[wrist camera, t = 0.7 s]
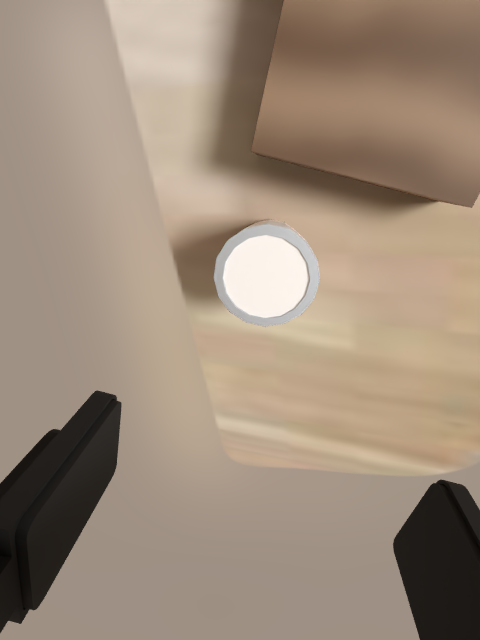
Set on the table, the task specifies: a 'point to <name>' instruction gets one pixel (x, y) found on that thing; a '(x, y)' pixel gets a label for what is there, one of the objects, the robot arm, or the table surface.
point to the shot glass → (267, 274)
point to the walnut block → (378, 94)
